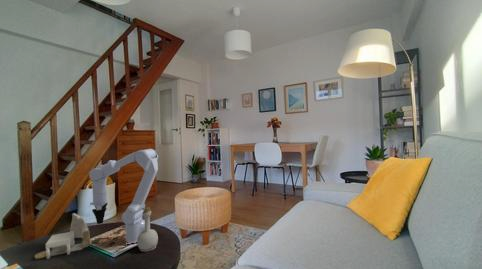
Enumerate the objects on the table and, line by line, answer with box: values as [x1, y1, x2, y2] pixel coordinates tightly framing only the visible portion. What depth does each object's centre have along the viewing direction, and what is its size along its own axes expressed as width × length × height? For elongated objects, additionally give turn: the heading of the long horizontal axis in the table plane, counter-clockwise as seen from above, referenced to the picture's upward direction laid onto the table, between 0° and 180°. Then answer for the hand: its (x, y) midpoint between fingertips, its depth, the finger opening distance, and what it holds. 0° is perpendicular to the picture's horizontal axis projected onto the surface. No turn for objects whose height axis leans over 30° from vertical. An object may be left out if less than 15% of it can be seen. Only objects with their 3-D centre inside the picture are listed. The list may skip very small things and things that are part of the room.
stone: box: [69, 212, 89, 239], centre depth 116 cm, size 10×5×12 cm, turn 65°
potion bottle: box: [136, 206, 159, 253], centre depth 101 cm, size 9×9×18 cm
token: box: [34, 250, 46, 260], centre depth 97 cm, size 5×5×1 cm
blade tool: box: [50, 230, 91, 257], centre depth 101 cm, size 14×5×6 cm, turn 118°
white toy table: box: [45, 231, 75, 260], centre depth 100 cm, size 8×10×6 cm
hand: (100, 220), depth 109 cm, fingers open, 7 cm apart
